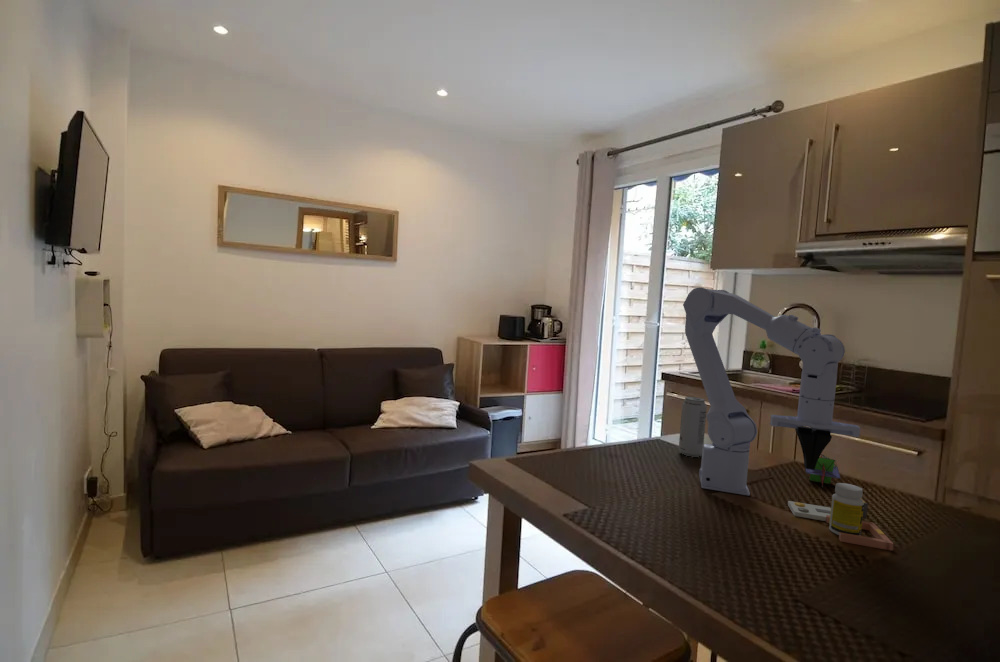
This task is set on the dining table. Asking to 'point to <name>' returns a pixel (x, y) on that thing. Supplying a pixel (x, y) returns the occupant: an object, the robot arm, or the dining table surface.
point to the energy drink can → (692, 426)
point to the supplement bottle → (846, 509)
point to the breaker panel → (809, 510)
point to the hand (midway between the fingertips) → (809, 468)
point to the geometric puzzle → (824, 470)
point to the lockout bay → (877, 542)
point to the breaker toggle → (865, 509)
